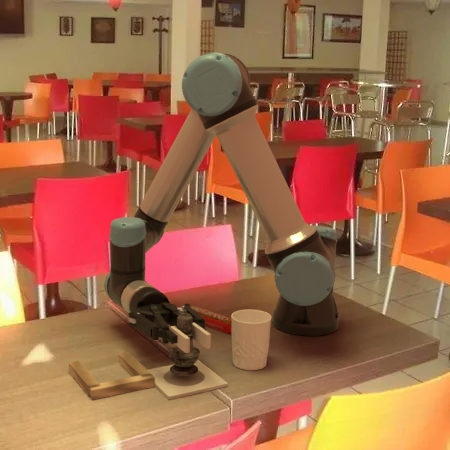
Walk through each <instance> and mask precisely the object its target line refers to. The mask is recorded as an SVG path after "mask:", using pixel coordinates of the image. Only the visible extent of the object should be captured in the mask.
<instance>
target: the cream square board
mask: <svg viewBox="0 0 450 450" xmlns="http://www.w3.org/2000/svg"><path fill="white" fill-rule="evenodd" d="M173 365H174V364H169V365H164V366H159V367H155V368H150V369H147V370H148V371H149V372H150V373H151V374H152V375H153V376H154V377H155V386H154V388H156V389H157V390H158V391H159V392H160V393H161V394H162V395H163V396H164V397H165V398H166V399H167V400H168V401H169V400H176V399H179V398H183V397H186V396H187V397H188V396H192V395H197V394H200V393H206V392H209V391H213V390H219V389H224V388H227V387H229V383H228V382H227V381H226V380H224V378H222V377H221V376H219V375H218V374H217V373H216V372H214V371H213V370H212V369H210V368H209V367H208V366H206V365H205V364H204V363H203V362H201V361H200V360H199V359H197V361H196V363H195V364H194V365H195V366H197V367H198V372H197V373H195V374H193V375H188V376H180V375H176V374H173V373H171V371H170V367H171V366H173Z"/></svg>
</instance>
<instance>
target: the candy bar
mask: <svg viewBox="0 0 450 450" xmlns="http://www.w3.org/2000/svg"><path fill="white" fill-rule="evenodd" d="M190 307H191V308H192V309H193V310H194V311H196V312H197V313H198V314H199V315H201V316H202V317H203V318H205V327H208V328H210V329H213V330H216V331H220V332H222V333H225V334H232V333H231V317H229V316H226V315H224V314H221V313H217V312H214V311H211V310H209V309H205V308H202V307H199V306H197V305H190Z"/></svg>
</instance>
